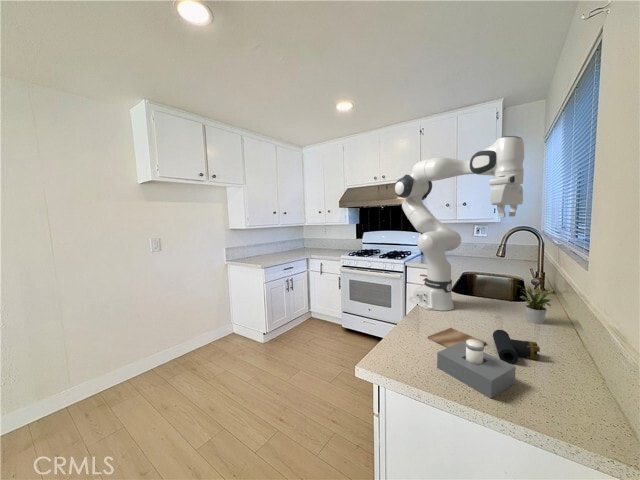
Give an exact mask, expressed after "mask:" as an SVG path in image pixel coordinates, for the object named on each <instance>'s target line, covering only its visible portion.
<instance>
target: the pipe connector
mask: <svg viewBox="0 0 640 480" xmlns="http://www.w3.org/2000/svg"><path fill="white" fill-rule="evenodd" d="M492 339H493V342H494V344H495V347H496V351H497V354H498V357H499V358H498V359H500V360H502V361H505V362H507V363H509V364H511V365H516V363H517V362H518V361H519V357H522V358H523V357H525V358H527V359H531V360H538V361H540V360H541V359H540V355H539V353H540V352H541V347H540V346H539V345H538V343H537V342H536V341H530V340H519V339H514V338H510V334H509V333H508V332H507V331H505V330H503V329H496V330H494V331H493V332H492Z"/></svg>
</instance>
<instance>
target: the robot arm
mask: <svg viewBox="0 0 640 480" xmlns="http://www.w3.org/2000/svg"><path fill="white" fill-rule="evenodd" d="M524 161H525V143H524V139H523V138H522V137H520V136H515V135H504V136H500V137H499V138H497V139H496V141H494V143H492V144H491V145H489V146H488V147H485V148H484V149H482V150H480V151H477V152H475V153H474V154H473V155H472V156H471V158H470V159H469V160H466V159H465V160H463V159H462V160H461V159H458V158H457V159H456V158H451V157H450V158H449V157H444V156H443V157H441V156H439V157H432V158H431V157H430V158H427V159H423V160H420V161H419V162H418V161H417V163H415V164H414V165H413V166H412V170H411V173H410V174H404V175H403V177H401V178H399V179H398V180H396V182H395V184H394V186H393V187H394V188H393V191H394V194H395V195H396V196H397V197H399V198H401V199H402V198H403V199H404V200H403V202H402V203H401V209H402V211H403V212H404V213H403V214H405V216H406V217H407V220H409V222H410V223H411V225H412V226H413V227H414V229H415V230H416V231H417V232H419V233H421V234H420V235H419V236H418V237H417V241H416V245H417V248H418V250H419V251H420V252H421V253H422V254H423V256H424V259H425V261H426V273H427V275H426V278H423V279H422V282H424V284H421V285H420V286H418V287H417V288H415V289H414V291H413V296H411V297H410V298H409V299H408V301H409V302H410V303H413V304H415V305H417V304H418V305H417V306H418V307H421V309H425V310H427V311H428V310H429V311H430V310H431V311H433V310H434V311H440V312H441V311H451V310H454V309H455V306H454V302H453V296H452V289H453V280H452V264H451V262H449V261H448V259H447V257H446V252H450V251H453V250H455V249H457V248H459V247H460V245H461V243H462V237H461V235H460V234H459V232H458V231H456V230H453V229H451V228H449V227H448V226H446V224H444V223H443V222H442V221H440V220H439V219H437V218H436V217H435V216H434V214H433V213H431V211H430V210H429V208H428V207H426V205H425V204H424V202H423V201H425V200H426V199H427V197H428V195H430V193H431V192H432V189H433V182H435V181H441V180H442V181H443V180H445V179H450V178H455V177H459V176H464V175H479V176H491V178H490V179H489V181H488V185H489V186H490V188H489V189H490V190H489V198H490V204H491V205H492V206H496V209H497V214H498V215H497V216H498V218H505V217H506V211H505V209H506V206H509V211H508V217H510V218H511V217H512V218H513V217H516V213H517V210H518V205H523V203H524V188H523V186H522V185H523V184H524V176H525V175H524V172H525V171H524V166H523V164H524ZM492 176H493V177H492ZM420 301H421V302H420ZM419 302H420V303H419Z"/></svg>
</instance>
